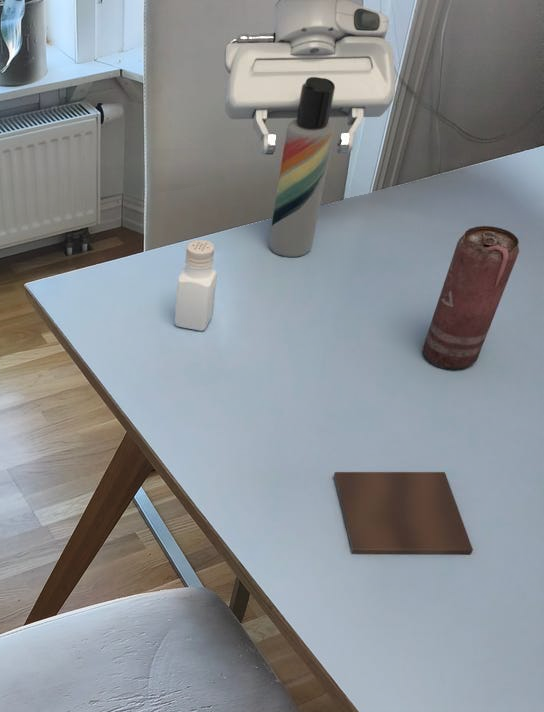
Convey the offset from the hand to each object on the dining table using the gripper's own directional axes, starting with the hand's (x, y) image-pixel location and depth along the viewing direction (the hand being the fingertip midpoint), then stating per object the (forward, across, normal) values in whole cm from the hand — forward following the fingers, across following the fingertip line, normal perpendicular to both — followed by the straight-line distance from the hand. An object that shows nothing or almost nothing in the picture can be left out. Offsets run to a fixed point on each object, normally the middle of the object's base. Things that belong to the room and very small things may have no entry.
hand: (306, 152), depth 109 cm
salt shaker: (+22, -14, -4) cm, 26 cm away
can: (+27, +15, -10) cm, 32 cm away
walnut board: (+46, +4, -28) cm, 54 cm away
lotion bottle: (+9, 0, +8) cm, 12 cm away
